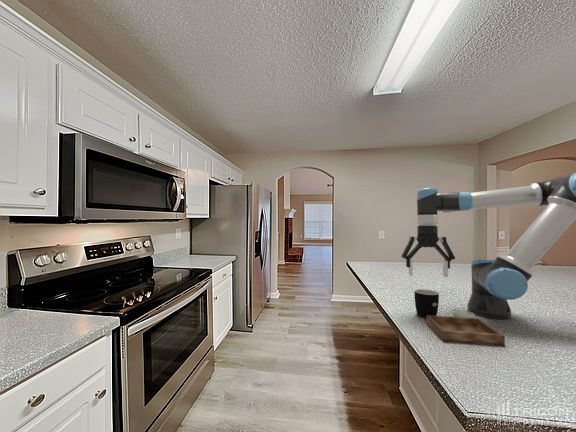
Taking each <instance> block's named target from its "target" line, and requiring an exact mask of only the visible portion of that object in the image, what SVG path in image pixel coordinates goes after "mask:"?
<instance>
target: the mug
mask: <svg viewBox="0 0 576 432" xmlns="http://www.w3.org/2000/svg"><path fill="white" fill-rule="evenodd" d="M439 301H440V294H439V292H438V291H436V290H432V289H427V288H426V289H424V288H419V289H418V288H417V289H415V290H414V303H415V311H416V314H417V316H418V317H420V318H422V319H426V315H430V316H438V310H439Z"/></svg>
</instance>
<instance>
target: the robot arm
mask: <svg viewBox="0 0 576 432" xmlns="http://www.w3.org/2000/svg"><path fill="white" fill-rule="evenodd" d="M416 194H417V195H416V208H417V209H416V211H417V214H416V215H417V216H416V217H417V219H416V220H417V226H416V227H417V228H416V229H417V236H412V235H411V236H409V238H408V239H409V240H408V241H407V242H408V243H407V244H406V246H405V248H404V250H403V252H402V254H401V258H403V259H405V260H406V261H405V266H406V268H408V276H410V277H413V270H414V269H413V260H412V259H413V257H414V256H415V255H416V254H417V253H418V252H419V251H420V249H422V247H423V248H434V249H435V250H436V251H437V252H438V254H440V255H441V257H442V258H444V260H442V276H443V277H445V278H448V277H449V273H448V272H449V270H450V268H451V261H452V260H455V259H456V256H455V255H454V253H453V251H452V249H451V247H450V246H449V244H448V241H447V237H446V236H440V237H439V236H438V235H439V230H438V229H439V228H438V227H439V226H438V222H439V221H438V211H439V212H443V213H453V212H464V211H472V210H473V211H474V210H480V209H492V208H503V207H513V206H524V205H526V206H527V205H533V206H535V207H537V206H539V207H541V206H546V207H545V208H544V209H543V211H541V213H540V214H539V215H538V216H537V217H536V219H535V220H534V221H533V222H532V223H531V224H530V225H529V227H528V228H527V229H526V230H525V231H524V232H523V234H522V235H520V237H519V238H518V239H517V240H516V242H515V243H514V244H513V245H512V247H511V248H510V249H509V250H508V251H507V252H506V254H504V255H498V256H496V258H495V259H483V258H482V259H481V258H479V259H477V258H475V259H472V261H471V266H470V268H471V295H470V297H469V299H468V302H467V305H466V307H467V309H466V311H469V312H472V313H474V314H475V316H476V315H477V316H479V317H483V318H487V319H488V318H490V319H496V320H509V319H511V318H512V310H511V308H510V305H509V302H508V301H510V300H512V301H513V300H517V299H519V298H521V297H523V296H524V295H526V293H527V291H528V287H529V285H528V282H529V280H531V278H532V277H533V276H534V275H533V273H532V269H533V268H534V267H535V265H536V264H537V263H538V262H539V261H540V260H541V259H542V258H543V256H544V255H546V253H547V252H548V251H549V250H550V248H551V247H552V246H553V245H554V244H555V243H556V242H557V240H559V238H560V237H561V236H562V235H563V234H564V233H565V231H566V230H567V229H568V228H569V227H570V226H571V225H572V223H574V222H575V220H576V172H573V173H569V174H565V175H561V176H558V177H555V178H551V179H548V180H543V181H538V182H532V183H531V184H529V185H527V186H519V187H508V188H501V189H500V188H499V189H492V190H483V191H475V192H469V191H457V192H455V191H454V192H438V189H437V188H436V187H424V188H420V189H418V190H417V193H416ZM416 241H417V244H416V245H415V247H414V248H413V249H412V246H413V245H414V242H416ZM438 243H441V245H442V246H443V249H444V250H445V251H444V250H443V249H442V248H441V247H440V245H439V244H438ZM411 249H412V250H411ZM410 250H411V251H410Z"/></svg>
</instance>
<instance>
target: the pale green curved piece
mask: <svg viewBox="0 0 576 432" xmlns="http://www.w3.org/2000/svg"><path fill="white" fill-rule="evenodd" d="M452 317H463V318H476V314H474V313H472V312H469V311H468V310H465V309H454V310H453V315H452Z"/></svg>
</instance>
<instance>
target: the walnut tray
mask: <svg viewBox="0 0 576 432" xmlns="http://www.w3.org/2000/svg"><path fill="white" fill-rule="evenodd" d="M426 325H427V326H428V328H429V329H431V331H432V332H433V333H434V334H435V335H436V336H437V337H438V338H439V339H440V340H441V341H442V342H446V343H456V344H457V343H458V344H459V343H460V344H471V345H485V346H498V347H506V338H505V337H506V335H504V334H503V333H501V332H500V331H499V330H497V329H495V328H494V327H492V326H491V325H489V324H488V323H486V322H485V321H483V320H482V319H480V318H476V317H475V318H463V317H453V316H447V315H446V316H445V315H436V316H430V315H426Z"/></svg>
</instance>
